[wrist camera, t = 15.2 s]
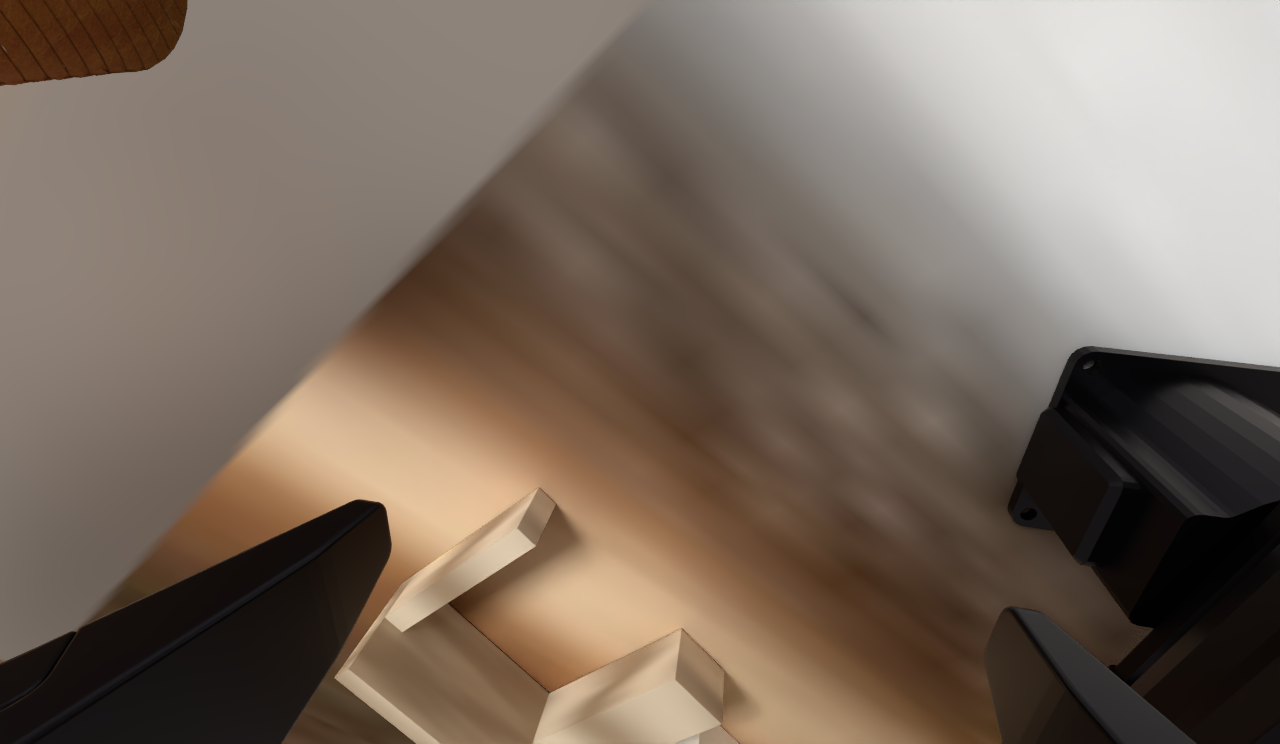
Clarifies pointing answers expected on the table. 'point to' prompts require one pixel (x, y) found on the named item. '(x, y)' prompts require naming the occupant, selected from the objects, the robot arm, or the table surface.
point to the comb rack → (496, 686)
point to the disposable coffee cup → (85, 37)
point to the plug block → (710, 737)
